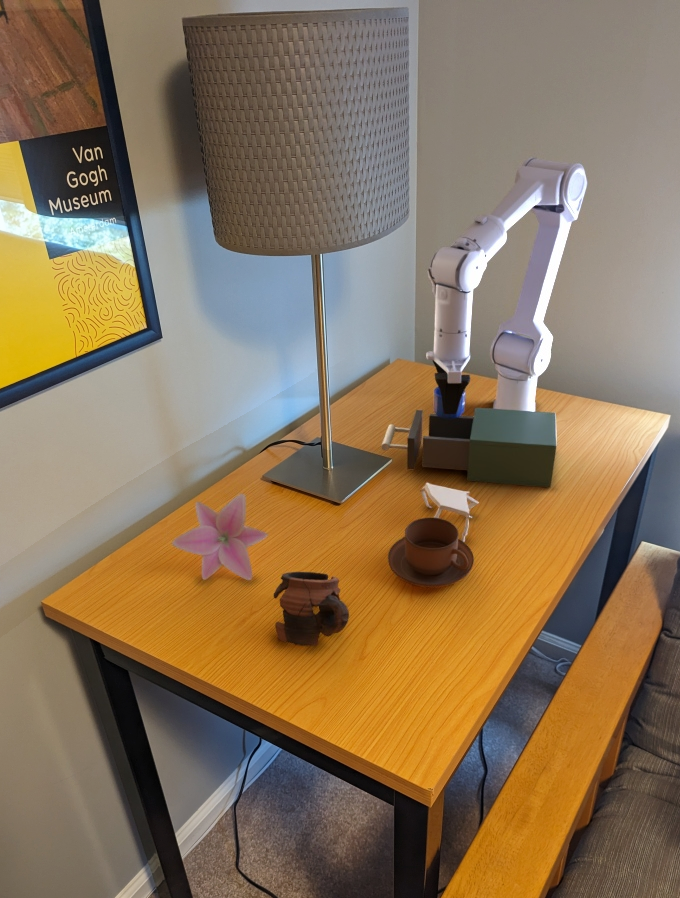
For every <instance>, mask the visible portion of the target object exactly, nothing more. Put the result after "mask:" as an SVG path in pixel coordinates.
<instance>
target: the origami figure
mask: <svg viewBox="0 0 680 898" xmlns="http://www.w3.org/2000/svg"><path fill="white" fill-rule="evenodd" d="M419 492H420V494H421V497H422V499H423V501H424V504H425V506H426V507H427V508H429V509H432V508H433V506H431V505H430V504H429V501H428V498H429V499H430V501H432V503H434V504H435V505H436V506H437V507H438V508H437V510H436V512H435V514H434V516H433V518H440V515H441V514H442V511H448V512H451V513H454V514H457V515H461V516H463V517H465V523H464V529H463V532H462V533H461V541H463V542H464V543H465V541H466V537H467V536H468V533H469V527H470V519H472V518H473V516H472V515H470V510H472V509H473V508H474V507H475V506H477V505H478V504H479V503H480V502H479V501H478V500H476V499H475V498H473V497H472V496H470V495H469V494H470V493H471V492H470V491H465V490H460V489H455V488H450V487H446V486H441V485H437V484H433V483H429V482H426V483H425V484H424V485H423V487H422V488H421V490H420V491H419ZM427 496H428V498H427Z"/></svg>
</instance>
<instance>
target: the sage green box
mask: <svg viewBox="0 0 680 898" xmlns="http://www.w3.org/2000/svg"><path fill="white" fill-rule="evenodd" d="M473 417H474V418H473V424H472V430H471V436H470V446H469V461H468V470H467V475H466V476H467V478H466V481H468V482H477V483H490V484H501V485H502V484H503V485H515V486H528V487H541V488H551V486H552V480H553V474H554V473H553V472H554V467H555V461H556V460H555V459H556V453H557V445H558V444H557V414H556V412H549V411H536V410H535V411H520V410H505V409H493V408H490V407H488V408H487V407H474V414H473Z"/></svg>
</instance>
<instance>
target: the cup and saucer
mask: <svg viewBox="0 0 680 898" xmlns="http://www.w3.org/2000/svg"><path fill="white" fill-rule="evenodd" d="M459 536H460V535H459V530H458V528H457V527H456V525H455V524H453V523H452V522H450V521H448V520H446V519H443V518H440V517H439V518H434V517H421V518H418V519H415V520H413V521H412V522H410V523H409V524H408V525H406V528H405V529H404V537H401V538H399V539H398V540H396V541H395V543H393V545H391V547H390V549H389V551H388V554H387V562H388V565H389V567H390V569H391V571H392V572H393V573H394V574H395V575H396V576H397V577H398V578H399V579H401V580H402V581H404V582H406V583H408V584H411V585H414V586H416V587H421V588H443V587H447V586H450V585H453V584H455V583H458V582H460V581H462V580H463V579H465V578H466V577H467V576H468V575H469V574H470V572H471V571H472V569H473V566H474V562H475V556H474V553H473V551H472V549H471V548H470V546H469V545H468V544H467V543H465V541H464V542H463V541H462V539H459Z"/></svg>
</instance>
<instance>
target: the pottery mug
mask: <svg viewBox="0 0 680 898" xmlns="http://www.w3.org/2000/svg"><path fill="white" fill-rule="evenodd" d="M280 580H281V583H279V584H278V586H277V587H276V589H275V590H274V593H273V598H274V600H275V599H278V597H279V595H280V594H281V593H282V594H281V596H280V597H279V605H280V608H281V609H282V616H283V622H280V621H276V622H275V624H274V625H275V631H276V637H277V639H278V640H280V641H282V642H285V643H289V644H293V645H295V646H301V647H302V646H303V647H308V646H309V647H312V646H314V647H315V646H318V645H319V640H320V639H319V638H320V635H323V636H324V637H332V635H334V634H338V633H340V632H342V631H343V630H344V629H345V628H346V626H347V624H348V623H349V618H350V612H349V609H348V605H346V603H344V601H342V600H341V598H340V593H341V589H340V587H339V582H340V579H339V578H338V577H336V576H333V575H332V576H331V577H330V579H329V574H328V573H321V572H314V571H290V572H285V573H283V574H281V577H280ZM314 608H318V612H317V613H315V612H314Z"/></svg>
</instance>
